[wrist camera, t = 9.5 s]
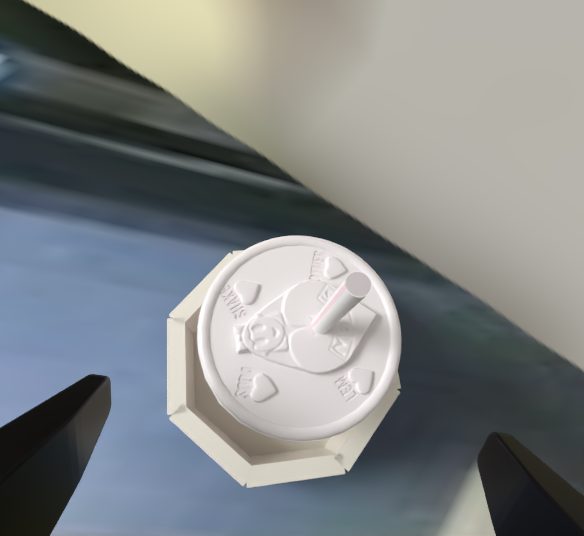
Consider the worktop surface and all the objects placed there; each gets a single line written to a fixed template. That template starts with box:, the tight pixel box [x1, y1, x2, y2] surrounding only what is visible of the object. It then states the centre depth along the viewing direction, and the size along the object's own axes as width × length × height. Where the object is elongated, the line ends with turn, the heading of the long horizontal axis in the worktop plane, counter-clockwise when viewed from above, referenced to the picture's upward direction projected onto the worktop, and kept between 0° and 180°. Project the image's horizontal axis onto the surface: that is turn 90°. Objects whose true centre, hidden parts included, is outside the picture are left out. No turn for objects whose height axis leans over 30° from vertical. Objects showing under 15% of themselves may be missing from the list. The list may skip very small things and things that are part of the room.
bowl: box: [167, 251, 401, 488], centre depth 20 cm, size 11×11×4 cm
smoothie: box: [197, 236, 401, 442], centre depth 14 cm, size 6×6×14 cm
